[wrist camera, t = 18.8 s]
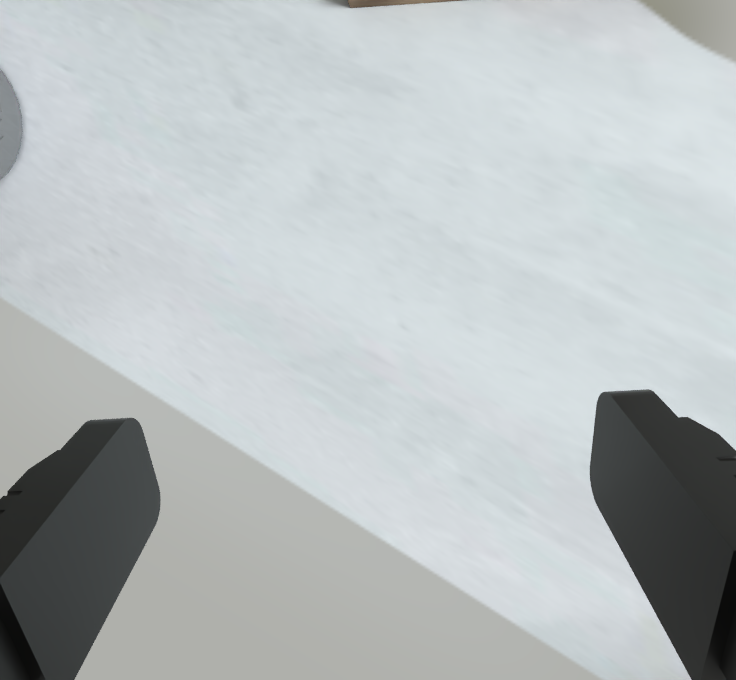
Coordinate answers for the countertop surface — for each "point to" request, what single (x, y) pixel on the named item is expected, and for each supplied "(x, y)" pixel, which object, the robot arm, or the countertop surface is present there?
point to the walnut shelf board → (388, 2)
